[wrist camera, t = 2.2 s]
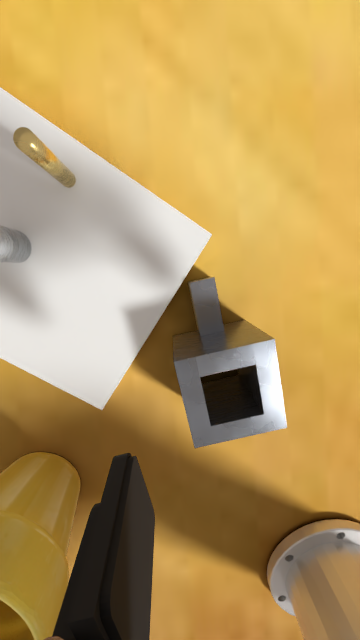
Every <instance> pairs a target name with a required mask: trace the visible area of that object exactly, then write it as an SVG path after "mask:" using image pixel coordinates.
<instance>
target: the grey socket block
mask: <svg viewBox="0 0 360 640" xmlns="http://www.w3.org/2000/svg"><path fill="white" fill-rule="evenodd" d="M188 287H189V292H190V296H191V301H192V306H193V310H194V315H195V320H196V324H197V329H198V330H197V331H192V332H188V333H184V334H179V335H175V336H173V357H174V365H175V369H176V373H177V378H178V382H179V386H180V390H181V394H182V398H183V402H184V406H185V410H186V414H187V418H188V422H189V427H190V431H191V435H192V439H193V443H194V447H195V448H198V447H202V446H207V445H211V444H216V443H220V442H225V441H229V440H234V439H238V438H243V437H247V436H252V435H256V434H260V433H265V432H269V431H274V430H278V429H283V428H287V423H286V416H285V409H284V402H283V395H282V388H281V380H280V373H279V366H278V359H277V352H276V345H275V339H274V338H272V337H271V336H269V335H268V334H266V333H265V332H263V331H261V330H260V329H258V328H257V327H255V326H253V325H252V324H250V323H249V322H247V321H246V320H241V321H236V322H232V323H228V324H223V321H222V316H221V310H220V305H219V300H218V294H217V289H216V284H215V278H214V277H207V278H202V279H198V280H194V281H189V282H188ZM234 369H237V371H238V375H237V376H232V377H228V378H223V379H219V380H215V381H210V382H206V383H201V379H200V377H203V376H207V375H212V374H216V373H220V372H225V371H229V370H234Z"/></svg>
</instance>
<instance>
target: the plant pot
mask: <svg viewBox="0 0 360 640" xmlns="http://www.w3.org/2000/svg"><path fill="white" fill-rule="evenodd" d="M79 492H80V478H79V475H78V472H77V471H76V469H75V468H74V467H73V465H72V464H71V463H70V462H69V461H67V460H66V459H64V458H63V457H61V456H58V455H56V454H53V453H47V452H35V453H30V454H27V455H24V456H22V457H20V458H19V459H17V460H16V461H15V462H14V463H12V464H11V465H10V466H9V467H7V468H6V469H5V470H4V471H3V472H1V473H0V640H44V639H45V638H47V637H52V635H53V631H54V628H55V625H56V622H57V619H58V615H59V612H60V609H61V606H62V602H63V599H64V596H65V593H66V589H67V586H68V580H69V569H68V563H67V559H66V555H67V550H68V545H69V540H70V535H71V530H72V525H73V521H74V516H75V511H76V507H77V502H78V497H79Z"/></svg>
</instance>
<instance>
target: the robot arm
mask: <svg viewBox="0 0 360 640" xmlns="http://www.w3.org/2000/svg"><path fill="white" fill-rule="evenodd" d="M154 527H155V515H154V509H153V506H152V503H151V500H150V497H149V494H148V491H147V488H146V485H145V482H144V478H143V475H142V472H141V469H140V466H139V463H138V460H137V457H136V456H133V457H132V456H131V454H130V453H126V454H122V455H118V456H114V458H113V460H112V464H111V467H110V471H109V475H108V478H107V482H106V485H105V489H104V492H103V496H102V500H101V503H97V504H95V505H94V506H93V508H92V510H91V512H90V515H89V519H88V522H87V525H86V528H85V531H84V535H83V538H82V541H81V544H80V548H79V551H78V554H77V557H76V560H75V564H74V567H73V570H72V573H71V577H70V580H69V583H68V586H67V589H66V593H65V596H64V599H63V602H62V606H61V609H60V612H59V615H58V619H57V622H56V625H55V628H54V631H53V635H52V637H47V638H45V639H44V640H149V633H150V612H151V591H152V570H153V548H154ZM267 581H268V584H269V587H270V590H271V593H272V596H273V598H274V600H275V602H276V603H277V604H278V605H279V606H280V607H281V608H282V609H283V610H285V611H286V612H288V613H289V614H291V615H293V616H296V619H297V621H298V624H299V627H300V630H301V632H302V635H303V638H304V640H360V524H359V523H356V522H353V521H349V520H341V519H329V520H322V521H317V522H313V523H311V524H308V525H305V526H303V527H301V528H299V529H297V530H295V531H294V532H292V533H291V534H290V535H288V536H287V537H286V538H284V539H283V540H282V541H281V543H280V544H279V545H278V546H277V547H276V549H275V550H274V552H273V553H272V555H271V557H270V560H269V562H268V567H267Z"/></svg>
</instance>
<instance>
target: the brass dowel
mask: <svg viewBox="0 0 360 640" xmlns="http://www.w3.org/2000/svg"><path fill="white" fill-rule="evenodd" d="M13 140H14V143H15V145H16V147H17V148H18V149H19V150H21V151H22V152H23V153H24V154H25V155H27V156H28V157H29V158H30V159H32V160H33V161H34V162H35V163H37V164H38V165H39V166H40V167H41V168H43V169H44V170H45V171H46V172H48V173H49V174H50V175H51V176H52V177H54V178H55V179H56V180H57V181H59V182H60V183H61V184H62V185H63V186H65V187H68V188H70V187H73V186H74V185H75V182H76V178H75V175H74V174H73V173H72V172H71V171H70V170H69V169H68V168H67V167H66V166H65V165H64V164H63V163H62V162H61V161H60V160H59V159H58V158H57V157H56V156H55V154H54V153H53V152H52V151H51V150H50V149H49V148H48V147H47V146H46V145H45V144H44V143H43V142H42V141H41V140H40V139H39V138H38V137H37V136H36V135H35V134H34V133H33V132H32V131H31V130H30V129H28V128H26V127H20V128H18V129H16V130H15V132H14V135H13Z"/></svg>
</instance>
